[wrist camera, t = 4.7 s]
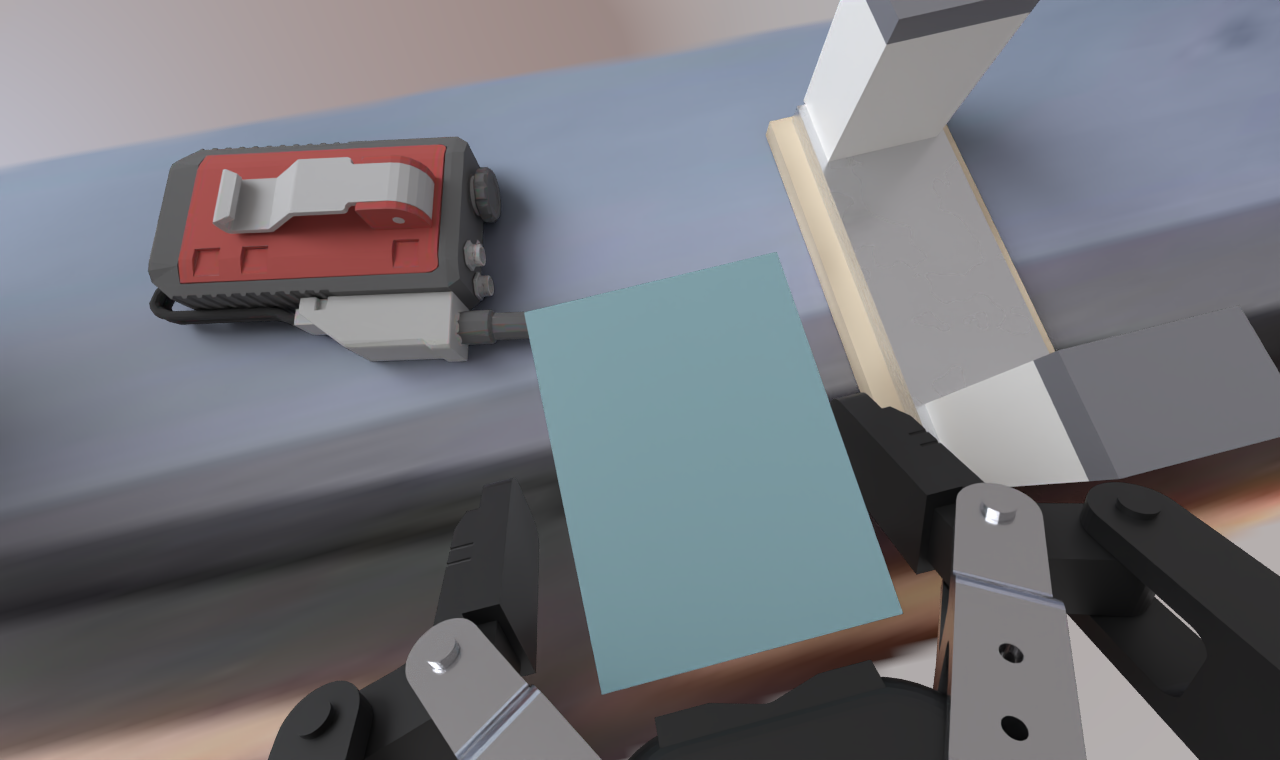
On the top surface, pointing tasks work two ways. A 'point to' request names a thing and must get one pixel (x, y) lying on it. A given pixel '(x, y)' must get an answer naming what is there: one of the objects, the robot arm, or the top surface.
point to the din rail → (923, 267)
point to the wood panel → (836, 271)
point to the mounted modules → (1069, 378)
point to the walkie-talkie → (335, 244)
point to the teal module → (702, 473)
